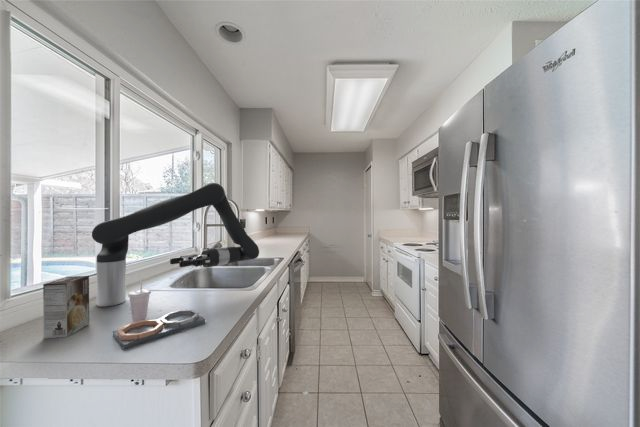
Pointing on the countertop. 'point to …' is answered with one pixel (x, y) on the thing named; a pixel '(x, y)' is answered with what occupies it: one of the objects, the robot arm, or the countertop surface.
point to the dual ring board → (160, 334)
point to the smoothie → (139, 303)
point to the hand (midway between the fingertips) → (174, 262)
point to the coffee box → (65, 306)
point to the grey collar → (182, 322)
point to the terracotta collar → (143, 334)
